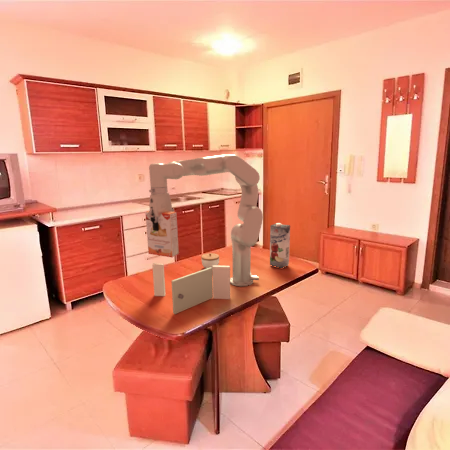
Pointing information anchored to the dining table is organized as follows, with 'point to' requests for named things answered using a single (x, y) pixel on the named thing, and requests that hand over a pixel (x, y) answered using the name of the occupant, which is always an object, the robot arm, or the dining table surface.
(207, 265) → the lidded jar
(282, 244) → the juice carton
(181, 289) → the door
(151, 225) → the cracker box
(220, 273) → the door frame
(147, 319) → the dining table surface
